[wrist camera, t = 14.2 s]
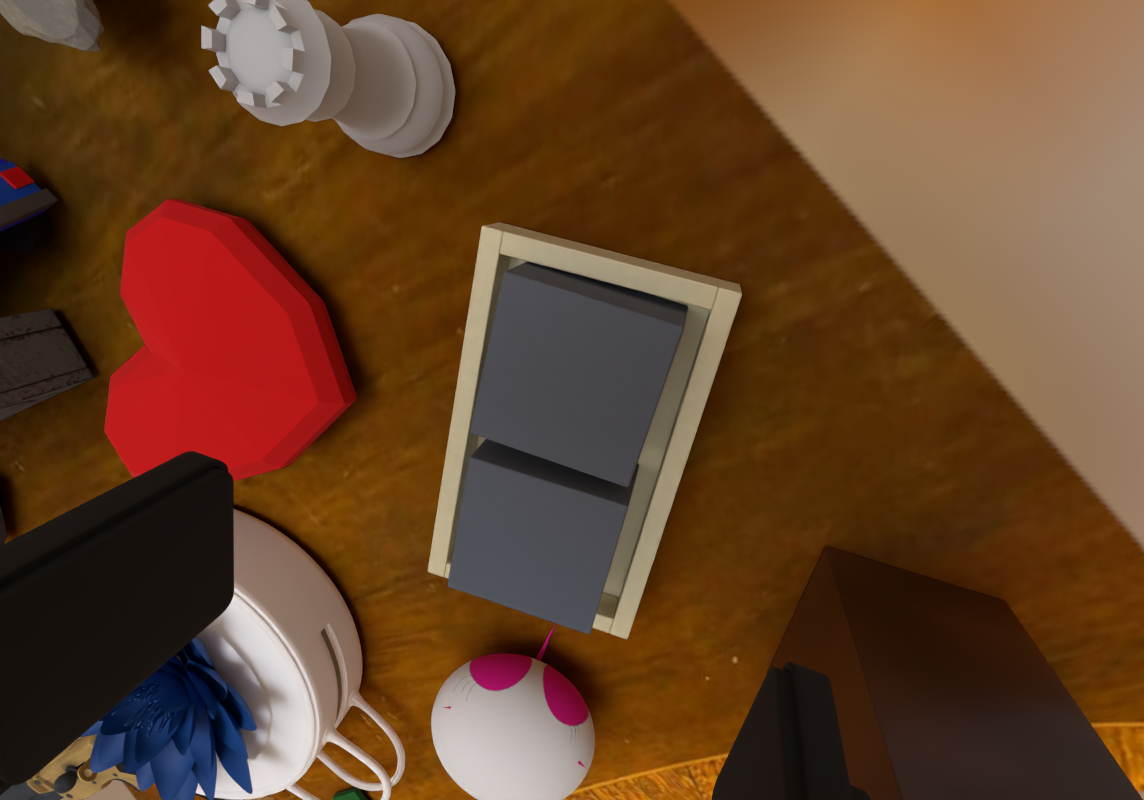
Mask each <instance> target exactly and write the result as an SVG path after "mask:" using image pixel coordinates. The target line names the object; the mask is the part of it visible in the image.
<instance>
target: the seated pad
mask: <svg viewBox="0 0 1144 800" xmlns="http://www.w3.org/2000/svg"><path fill="white" fill-rule="evenodd" d="M638 468H639V464H637V466H636V468H635V471H634V474H633V477H632V480H631V483H630V486H629V487H624V486H622V485H619V484H616V483H613V482H610V481H607V480H604V479H601V478H598V477H596V476H593V475H590V474H587V473H584V472H581V471H578V470H575V469H572V468H570V467H567V466H564V465H561V464H558V463H555V462H552V461H549V460H546V459H544V458H541V457H538V456H535V455H532V454H529V453H526V452H523V451H520V450H518V449H515V448H512V447H509V446H506V445H503V444H500V443H497V442H494V441H492V440H489V439H485V440H484V442H483V443H482V444H481V445H480V446H479V447H478V448H477V450H476V451H475V452H474V453H473V454H472V455H471V456H470V458H469V463H468V469H467V474H466V480H465V486H464V492H463V497H462V503H461V509H460V515H459V520H458V526H457V532H456V537H455V543H454V549H453V555H452V560H451V566H450V572H449V578H448V583H447V586H448V587H451V588H454V589H457V590H460V591H463V592H466V593H469V594H471V595H474V596H477V597H480V598H483V599H486V600H489V601H492V602H495V603H498V604H501V605H504V606H507V607H510V608H512V609H515V610H518V611H521V612H524V613H527V614H530V615H533V616H536V617H539V618H542V619H545V620H548V621H551V622H554V623H556V624H559V625H562V626H565V627H568V628H571V629H574V630H577V631H580V632H583V633H586V634H590V633H591V630H592V626H593V623H594V620H595V616H596V613H597V610H598V606H599V603H600V600H601V596H602V593H603V590H604V586H605V583H606V580H607V576H608V573H609V570H610V567H611V563H612V560H613V557H614V553H615V550H616V547H617V543H618V540H619V537H620V533H621V530H622V527H623V523H624V520H625V517H626V513H627V510H628V506H629V503H630V499H631V495H632V491H633V487H634V484H635V480H636V476H637V472H638Z"/></svg>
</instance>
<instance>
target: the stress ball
mask: <svg viewBox="0 0 1144 800" xmlns="http://www.w3.org/2000/svg"><path fill="white" fill-rule="evenodd" d="M554 625H555V624H554ZM553 628H554V626H553ZM553 628H552V630H551V632H550V634H549V636H548V637H547V639H546V641H545V643H544V645H543V647H542V649H541V650H540V652H539V654H538V656H537V658H536V659H534V658H531V657H527V656H523V655H518V654H510V653H498V654H490V655H485V656H482V657H479V658H476V659H473V660H471V661H469V662H467V663H465V664H464V665H462V666H461V667H459V668H458V669H457V670H456V671H454V672H453V673H452V674H451V675H450V676H449V678H448V679H447V680H446V681H445V682H444V684H443V685H442V687H441V688H440V690H439V692H438V694H437V697H436V700H435V703H434V706H433V711H432V718H431V729H432V737H433V742H434V746H435V749H436V752H437V754H438V757H439V759H440V761H441V763H442V765H443V766H444V768H445V770H446V771H447V772H448V774H449V775H450V776H451V777H452V779H453V780H454V781H455V782H456V783H457V784H458V785H459V786H460V787H461V788H462V789H464V790H465V791H466V792H467V793H469V794H470V795H472V796H473V797H475V798H476V799H478V800H563V799H564V798H566V797H567V796H568V795H570V794H571V793H572V792H573V791H574V790H575V789H576V788H577V787H578V786H579V785H580V783H581V782H582V781H583V779H584V777H585V776H586V774H587V772H588V770H589V768H590V765H591V762H592V759H593V755H594V748H595V734H594V726H593V721H592V718H591V715H590V712H589V709H588V707H587V705H586V703H585V701H584V699H583V698H582V696H581V695H580V693H579V692H578V690H577V689H576V688H575V687H574V685H573V684H572V683H571V682H570V681H569V680H568V679H567V678H566V677H565V676H564V675H562V674H561V673H560V672H558V671H557V670H556V669H554V668H552V667H551V666H549V665H547V664H545V663H543V662H541V660H542V657H543V654H544V652H545V649H546V646H547V644H548V641H549V638H550V636H551V633H552V631H553Z"/></svg>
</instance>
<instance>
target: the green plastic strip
mask: <svg viewBox="0 0 1144 800" xmlns="http://www.w3.org/2000/svg"><path fill="white" fill-rule="evenodd" d="M332 799H333V800H367V798H366V797H365V796H364V795H363V793H362V792H361V791H360V790H359V788H357V787H356V788H353V789H349V790H346V791H343V792H339V793H336V794H335V795H334V797H333V798H332Z"/></svg>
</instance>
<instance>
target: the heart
mask: <svg viewBox="0 0 1144 800" xmlns="http://www.w3.org/2000/svg"><path fill="white" fill-rule="evenodd" d="M120 295H121V297H122V299H123V301H124V303H125V305H126V307H127V309H128V311H129V313H130V315H131V317H132V319H133V321H134V323H135V325H136V327H137V329H138V331H139V333H140V335H141V337H142V339H143V341H144V343H145V345H144V346H143V347H142V348H141V349H140V350H139V351H138V352H136V353H135V354H134V355H133V356H132V357H131V358H130V359H129V360H128V361H126V362H125V363H124V364H123V365H122V366H121V367H120V368H119V369H118V370H116V371H115V372H114V373H113V374H112V375H111V377H110V385H109V394H108V402H107V410H106V419H105V427H104V432H105V434H106V435H107V437H108V438H109V440H110V442H111V443H112V445H113V446H114V448H115V450H116V451H117V453H118V454H119V456H120V458H121V459H122V461H123V462H124V464H125V466H126V467H127V469H128V471H129V472H130V474H131V475H132V477H133V478H135V477H137V476H139V475H141V474H143V473H145V472H147V471H149V470H151V469H153V468H155V467H157V466H159V465H160V464H162V463H164V462H166V461H168V460H170V459H172V458H174V457H176V456H178V455H180V454H182V453H185V452H188V451H195V452H198V453H201V454H203V455H206V456H209V457H212V458H215V459H218V460H220V461H222V462H224V463H225V464H226V465H227V467H228V472H229V473H230V474H231V475H232V477H233V481H236V480H240V479H243V478H247V477H251V476H254V475H258V474H262V473H265V472H269V471H273V470H276V469H280V468H283V467H287V466H289V465H290V464H291V463H292V462H293V461H294V460H295V459H296V458H297V457H298V456H300V455H301V454H302V453H303V452H304V451H305V450H306V449H307V448H308V447H309V446H310V445H311V444H312V443H313V442H314V441H315V440H316V439H317V438H318V437H319V436H320V435H321V434H322V433H323V432H324V431H325V430H326V429H327V428H328V427H329V426H330V425H331V424H332V423H333V422H334V421H335V420H336V419H337V418H338V417H339V416H340V415H341V414H342V413H343V412H344V411H345V410H346V409H347V408H348V407H349V406H350V405H351V404H352V403H354V401H355V400H356V399H357V396H356V393H355V390H354V387H353V384H352V381H351V378H350V375H349V372H348V369H347V366H346V364H345V361H344V358H343V355H342V352H341V349H340V346H339V343H338V340H337V337H336V334H335V331H334V329H333V326H332V323H331V320H330V317H329V314H328V311H327V308H326V305H325V302H324V301H323V300H322V299H321V298H320V297H319V296H318V295H317V294H316V293H315V292H314V291H313V290H312V288H311V287H310V286H309V285H308V284H307V283H306V282H305V281H304V280H303V279H302V278H301V277H300V275H299V274H298V273H297V272H296V271H295V270H294V269H293V268H292V267H291V266H290V265H289V264H288V263H287V261H286V260H285V259H284V258H283V257H282V256H281V255H280V254H279V253H278V252H277V251H276V250H275V248H274V247H273V246H272V245H271V244H270V243H269V242H268V241H267V240H266V239H265V238H264V237H263V236H262V234H261V233H260V232H259V231H258V230H257V229H256V228H255V227H254V226H253V225H252V224H251V223H250V221H249V220H247V219H243V218H240V217H237V216H233V215H230V214H227V213H223V212H220V211H217V210H213V209H210V208H207V207H203V206H200V205H197V204H193V203H190V202H186V201H183V200H180V199H167V200H166V201H165V202H164V203H162V204H161V205H160V206H158V207H157V208H156V209H155V210H153V211H152V212H151V213H150V214H148V215H147V216H146V217H145V218H143V219H142V220H141V221H139V222H138V223H137V224H136V225H134V226H133V227H132V228H131V229H129V230H128V231H127V232H126V240H125V249H124V259H123V268H122V278H121V287H120Z"/></svg>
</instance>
